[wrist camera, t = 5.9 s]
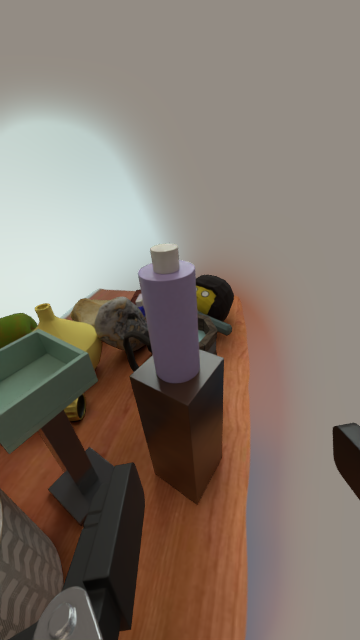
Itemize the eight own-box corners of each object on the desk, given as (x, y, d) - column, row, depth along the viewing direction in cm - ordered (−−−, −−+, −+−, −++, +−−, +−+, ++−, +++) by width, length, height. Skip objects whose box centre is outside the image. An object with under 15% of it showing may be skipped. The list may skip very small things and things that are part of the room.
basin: (39, 494, 39) (-57, 378, 25) (91, 441, 45) (38, 328, 32) (79, 540, 33) (-15, 425, 20) (131, 472, 40) (88, 352, 27)
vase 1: (49, 353, 69) (20, 291, 59) (114, 347, 69) (96, 284, 59) (15, 407, 54) (-32, 336, 43) (99, 399, 53) (71, 327, 43)
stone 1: (139, 333, 79) (141, 303, 76) (90, 346, 66) (90, 311, 63) (108, 318, 89) (109, 291, 86) (59, 327, 76) (58, 296, 73)
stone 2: (139, 363, 70) (168, 347, 68) (83, 341, 52) (121, 317, 50) (130, 331, 75) (157, 315, 73) (77, 301, 58) (111, 279, 56)
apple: (-2, 319, 73) (36, 307, 75) (13, 352, 75) (50, 340, 77) (-23, 324, 62) (22, 310, 64) (-5, 363, 64) (38, 349, 66)
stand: (155, 473, 40) (129, 376, 28) (182, 434, 45) (170, 338, 33) (197, 504, 36) (188, 405, 24) (221, 457, 41) (223, 357, 29)
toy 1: (137, 309, 74) (149, 285, 86) (122, 311, 75) (135, 288, 87) (145, 325, 77) (155, 301, 89) (130, 328, 78) (142, 303, 90)
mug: (218, 364, 60) (219, 311, 52) (216, 411, 48) (216, 353, 40) (141, 360, 63) (130, 310, 55) (122, 403, 52) (105, 348, 44)
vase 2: (2, 435, 47) (78, 428, 47) (-5, 407, 45) (73, 400, 46) (21, 416, 53) (88, 410, 53) (15, 390, 51) (84, 384, 52)
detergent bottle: (146, 372, 28) (121, 253, 21) (172, 347, 32) (159, 237, 24) (184, 390, 26) (170, 260, 18) (208, 361, 29) (204, 241, 22)
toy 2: (116, 318, 64) (184, 258, 78) (132, 349, 74) (190, 290, 88) (194, 361, 51) (259, 279, 66) (201, 391, 61) (256, 315, 75)
